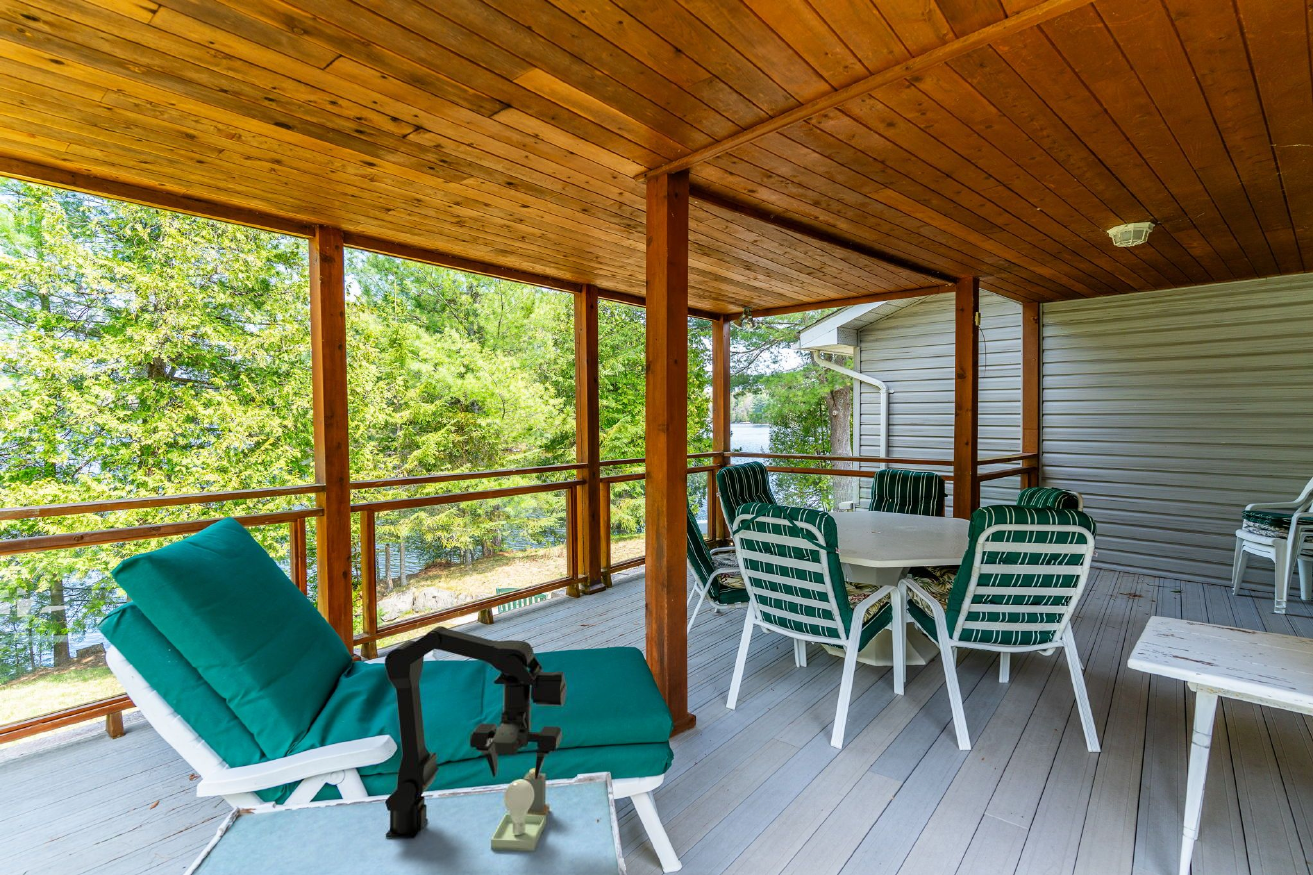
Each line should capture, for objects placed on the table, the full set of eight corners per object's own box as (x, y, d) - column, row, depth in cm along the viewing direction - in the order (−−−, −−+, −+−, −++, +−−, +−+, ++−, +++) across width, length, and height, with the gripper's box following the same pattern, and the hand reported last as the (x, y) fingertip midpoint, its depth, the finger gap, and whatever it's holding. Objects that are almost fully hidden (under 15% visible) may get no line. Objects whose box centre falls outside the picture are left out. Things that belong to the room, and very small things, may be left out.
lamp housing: (518, 818, 134) (519, 774, 134) (523, 809, 137) (524, 766, 138) (545, 819, 133) (545, 775, 134) (549, 810, 137) (549, 767, 137)
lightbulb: (526, 845, 124) (527, 790, 124) (498, 841, 125) (498, 787, 125) (538, 826, 130) (539, 775, 130) (511, 823, 131) (511, 772, 132)
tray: (490, 849, 123) (490, 839, 123) (505, 822, 132) (505, 813, 132) (534, 851, 123) (534, 841, 123) (545, 824, 132) (545, 815, 132)
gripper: (459, 717, 122) (458, 795, 122) (549, 721, 121) (548, 800, 120) (480, 696, 133) (479, 767, 133) (562, 699, 132) (561, 771, 131)
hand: (515, 777), depth 129 cm, fingers open, 9 cm apart
